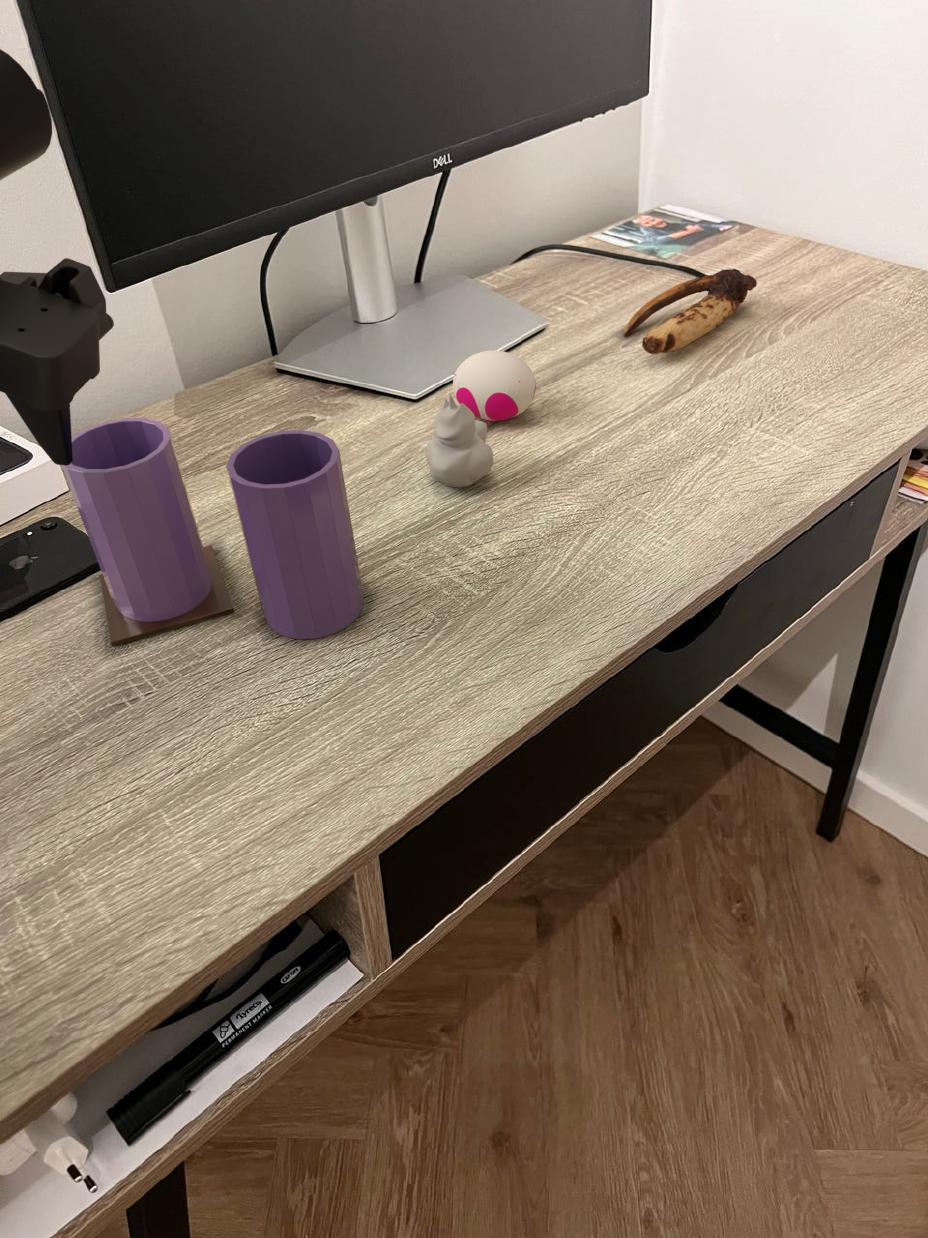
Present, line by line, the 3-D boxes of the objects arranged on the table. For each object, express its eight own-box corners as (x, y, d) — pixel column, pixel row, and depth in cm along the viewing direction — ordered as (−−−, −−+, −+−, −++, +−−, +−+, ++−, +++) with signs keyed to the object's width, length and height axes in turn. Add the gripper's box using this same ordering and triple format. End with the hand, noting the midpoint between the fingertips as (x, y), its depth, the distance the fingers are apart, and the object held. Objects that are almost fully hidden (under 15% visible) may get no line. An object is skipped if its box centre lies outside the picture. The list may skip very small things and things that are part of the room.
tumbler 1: (139, 635, 66) (84, 485, 59) (99, 589, 71) (43, 443, 63) (229, 592, 69) (188, 443, 62) (186, 550, 74) (142, 407, 66)
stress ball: (453, 450, 90) (427, 415, 84) (479, 373, 91) (455, 333, 85) (529, 461, 87) (507, 426, 81) (554, 382, 88) (535, 341, 82)
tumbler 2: (277, 651, 65) (238, 498, 57) (255, 592, 70) (217, 445, 62) (375, 622, 67) (351, 470, 59) (347, 567, 72) (322, 420, 64)
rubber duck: (413, 488, 79) (402, 399, 74) (456, 451, 83) (449, 363, 78) (469, 505, 77) (463, 414, 72) (511, 465, 81) (508, 376, 76)
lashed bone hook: (687, 294, 107) (593, 352, 96) (690, 251, 104) (593, 305, 93) (766, 310, 101) (676, 372, 91) (772, 264, 99) (679, 323, 88)
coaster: (112, 646, 66) (110, 642, 66) (100, 578, 72) (99, 574, 72) (234, 612, 68) (232, 608, 68) (213, 548, 74) (211, 544, 74)
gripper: (-101, 350, 37) (55, 640, 48) (136, 167, 50) (217, 429, 60) (-328, 337, 40) (-131, 615, 50) (-47, 167, 52) (61, 417, 63)
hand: (21, 510), depth 56 cm, fingers open, 9 cm apart
